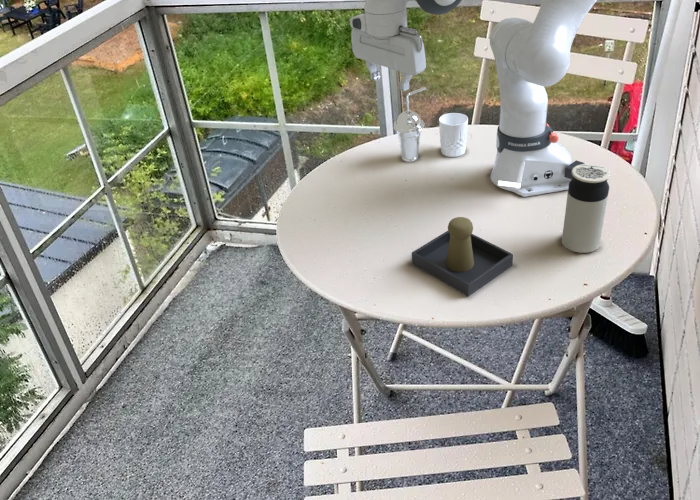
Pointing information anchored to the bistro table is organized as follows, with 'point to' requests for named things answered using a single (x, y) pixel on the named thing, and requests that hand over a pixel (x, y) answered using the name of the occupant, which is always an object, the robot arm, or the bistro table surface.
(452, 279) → the bin
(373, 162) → the bistro table surface
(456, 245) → the olive pawn
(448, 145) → the white cup
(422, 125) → the cup with straw
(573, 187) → the travel mug
